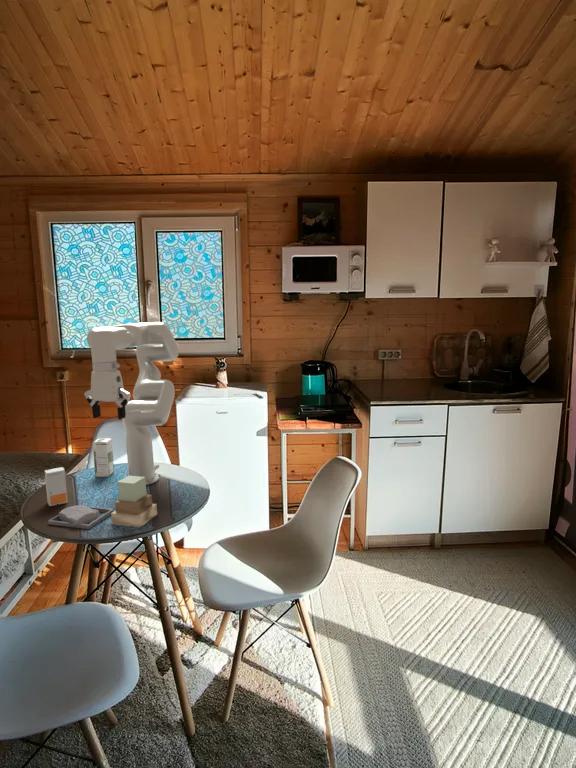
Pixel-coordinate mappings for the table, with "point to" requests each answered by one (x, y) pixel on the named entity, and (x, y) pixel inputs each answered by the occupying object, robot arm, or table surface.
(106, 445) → the syrup box
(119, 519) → the beech block
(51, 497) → the skincare box
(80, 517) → the stone block
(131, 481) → the green cube
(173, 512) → the table surface
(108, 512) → the tray rim
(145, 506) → the walnut block
